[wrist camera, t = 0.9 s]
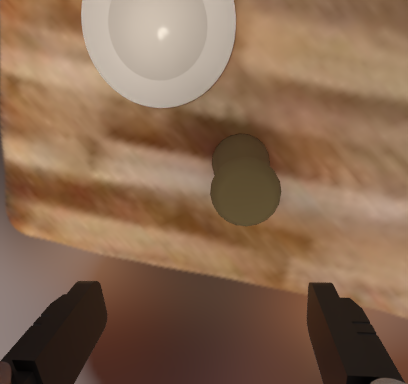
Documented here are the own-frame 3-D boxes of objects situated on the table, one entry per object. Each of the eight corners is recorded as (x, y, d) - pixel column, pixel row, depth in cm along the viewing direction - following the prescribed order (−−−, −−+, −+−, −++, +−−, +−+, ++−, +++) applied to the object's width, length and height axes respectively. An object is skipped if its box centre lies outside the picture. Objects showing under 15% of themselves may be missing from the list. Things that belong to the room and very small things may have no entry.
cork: (203, 146, 30) (189, 175, 19) (259, 124, 29) (276, 143, 18) (223, 197, 31) (220, 248, 21) (276, 178, 30) (301, 224, 20)
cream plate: (218, -89, 23) (217, -97, 22) (247, 89, 28) (248, 89, 27) (64, -37, 25) (57, -42, 24) (114, 121, 30) (110, 122, 29)
